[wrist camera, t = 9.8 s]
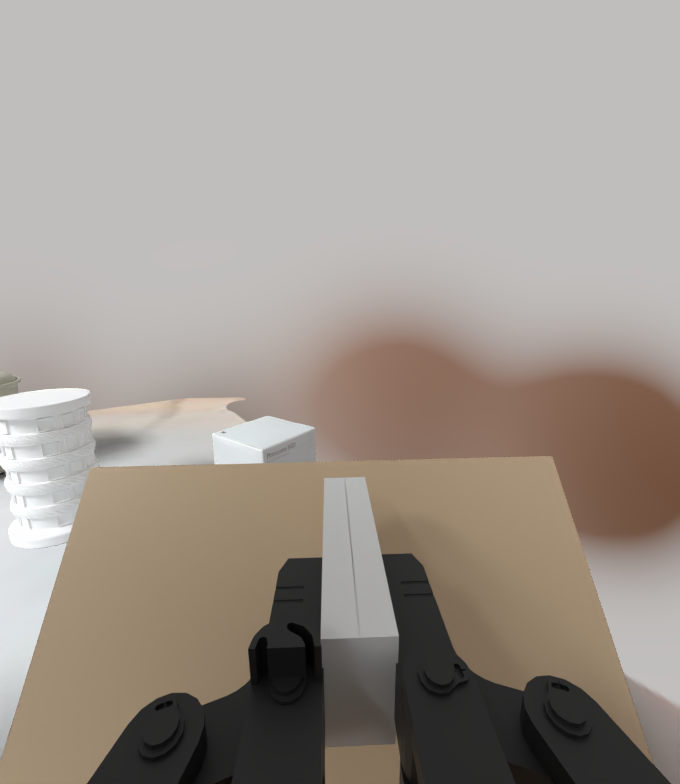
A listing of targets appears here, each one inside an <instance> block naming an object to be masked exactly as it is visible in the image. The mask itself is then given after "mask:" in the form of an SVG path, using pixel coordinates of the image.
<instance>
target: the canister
mask: <svg viewBox="0 0 680 784" xmlns="http://www.w3.org/2000/svg"><path fill="white" fill-rule="evenodd" d="M20 381H21V378H20V377H18V376H13V375H12V374H10V373H8V372H3V371H0V397H3V396H8V395H12V394H18V383H20ZM0 453H1V451H0ZM3 472H5V470H4V469H3V468H2V467H1V465H0V474H1V473H3Z"/></svg>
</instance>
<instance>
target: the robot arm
mask: <svg viewBox="0 0 680 784" xmlns="http://www.w3.org/2000/svg"><path fill="white" fill-rule="evenodd" d="M248 656H249V667H250V680H249V681H248V682H247V683H246V684H245V685H243V686H242V687H241V688H240V689H238V690H237V691H235V692H233V693H231V694H229V695H227V696H225V697H222V698H220V699H217V700H214V701H212V702H209V703H206V704H204V705H201V704H200V702H199V700H198V698H196V697H194V696H192V695H190V694H188V693H170V694H167V695H165V696H162V697H159V698H157V699H155V700H154V701H152V702H151V703H149V704H148V705H147V706H145V707H144V708H142V709H141V710H140V711H139V712H138V713H137V715H136V716H135V717H134V718H133V719H132V720H131V721H130V723H129V724H128V725H127V726H126V728H125V729H124V731H123V732H122V734H121V735H120V736H119V738H118V739H117V741H116V742H115V744H114V745H113V747H112V748H111V750H110V751H109V752H108V754H107V755H106V757H105V758H104V760H103V761H102V763H101V764H100V765H99V767H98V768H97V770H96V771H95V773H94V774H93V776H92V777H91V778H90V780H89V781H88V783H87V784H325V747H346V746H366V745H388V744H395V743H396V734H397V740H398V746H399V753H400V777H399V784H671V783H670V782H669V781H668V780H667V779H666V778H665V777H664V776H663V774H662V773H661V772H660V771H659V770H658V769H657V768H656V767H655V766H654V765H653V764H652V762H651V761H650V760H649V759H648V758H647V757H646V756H645V755H644V754H643V753H642V751H641V750H640V749H639V748H638V747H637V746H636V745H635V744H634V743H633V742H632V740H631V739H630V738H629V737H628V736H627V735H626V734H625V733H624V732H623V731H622V729H621V728H620V727H619V726H618V725H617V724H616V723H615V722H614V721H613V720H612V718H611V717H610V716H609V715H608V714H607V713H606V712H605V711H604V710H603V709H602V707H601V706H600V705H599V704H598V703H597V702H596V701H595V700H594V699H593V698H591V697H590V696H589V695H588V694H587V693H586V692H585V691H584V690H582V689H581V688H579V687H578V686H576V685H574V684H572V683H571V682H569V681H567V680H565V679H562V678H558V677H554V676H551V675H546V676H536V677H534V678H533V679H532V680H530V681H529V682H527V684H526V687H525V690H524V691H522V690H518V689H515V688H511V687H507V686H504V685H500V684H497V683H494V682H491V681H489V680H486V679H484V678H482V677H480V676H479V675H477V674H476V673H474V672H473V671H471V670H470V669H469V667H468V666H467V664H466V663H465V662H464V661H463V660H462V659H461V658H460V657H459V656H458V655H457V654H456V652H455V650H454V648H453V646H452V643H451V640H450V638H449V635H448V632H447V629H446V627H445V624H444V621H443V618H442V616H441V613H440V610H439V607H438V605H437V602H436V599H435V597H434V596H433V591H432V588H431V586H430V584H429V580H428V577H427V575H426V572H425V569H424V566H423V565H422V564H421V563H420V562H419V561H418V560H417V559H416V558H415V557H414V555H413V554H412V553H405V554H381V550H380V545H379V541H378V536H377V531H376V527H375V522H374V517H373V513H372V508H371V503H370V499H369V494H368V489H367V485H366V480H365V477H344V478H324V510H323V554H322V557H318V558H288V560H287V561H286V562H285V564H284V565H283V566H282V568H281V569H280V570H279V572H278V578H277V583H276V590H275V594H274V599H273V605H272V610H271V615H270V621H269V624H267V625H265V626H263V627H262V628H261V629H260V630H259V631H258V632H257V633H256V634H255V636H254V637H253V639H252V641H251V643H250V646H249V648H248Z"/></svg>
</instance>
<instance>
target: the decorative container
mask: <svg viewBox="0 0 680 784" xmlns="http://www.w3.org/2000/svg"><path fill="white" fill-rule="evenodd" d="M90 403H91V396H90V391H89V390H86V389H79V388H78V389H77V388H61V389H47V390H39V391H30V392H23V393H18V394H12V395H8V396H3V397H0V451H1V453H0V465H1V467H2V468H3V469H4V470H5V472H6V478H5V483H4V485H5V488H6V489H7V491H8V492H9V493H11V497H12V499H11V501H10V510H11V511H12V513H13V514H14V516H16V519H15V520H14V521H13V522H12V524H11V525H10V526H9V529H8V533H9V537H10V541H11V543H12V544H13V545H15V546H16V547H18V548H26V549H36V548H45V547H51V546H56V545H59V544H63V543H66V542H68V539H69V535H70V532H71V529H72V526H73V522H74V519H75V516H76V513H77V509H78V506H79V503H80V499H81V496H82V493H83V490H84V486H85V483H86V480H87V476H88V473H89V470H90V467H99V461H98V459H97V457H96V456H95V453H94V450H95V445H96V441H95V439H94V437H93V436H92V435H91V430H90V428H91V427H92V419H91V417H90V415H89V414H88V413H87V408H86V405H88V404H90Z"/></svg>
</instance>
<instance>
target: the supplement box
mask: <svg viewBox="0 0 680 784" xmlns="http://www.w3.org/2000/svg"><path fill="white" fill-rule="evenodd" d="M212 439H213V451H214V463H215V464H253V463H294V462H316V452H315V428H314V427H311V426H307V425H303V424H298V423H294V422H290V421H286V420H283V419H278V418H274V417H271V416H265V417H263V418H259V419H256V420H253V421H250V422H245V423H242V424H239V425H236V426H234V427H231V428H228V429H224V430H221V431H218V432H215V433H213V434H212Z"/></svg>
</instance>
